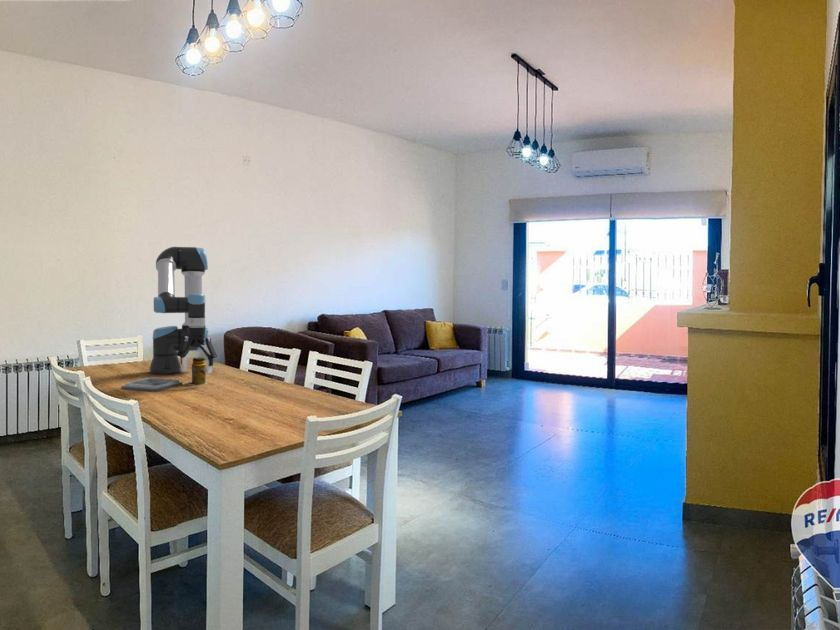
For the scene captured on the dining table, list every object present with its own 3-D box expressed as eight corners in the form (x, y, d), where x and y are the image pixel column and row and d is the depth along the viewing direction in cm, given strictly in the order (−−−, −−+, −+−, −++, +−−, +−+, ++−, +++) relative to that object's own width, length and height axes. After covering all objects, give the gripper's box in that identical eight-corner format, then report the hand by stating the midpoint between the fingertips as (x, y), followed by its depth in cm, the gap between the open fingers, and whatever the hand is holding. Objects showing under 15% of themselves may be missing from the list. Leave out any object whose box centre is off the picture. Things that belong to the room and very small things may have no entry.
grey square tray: (150, 381, 286) (150, 377, 286) (182, 384, 281) (182, 379, 281) (121, 388, 269) (121, 383, 269) (155, 391, 264) (154, 386, 264)
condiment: (209, 383, 285) (208, 358, 284) (191, 385, 279) (191, 359, 278) (202, 381, 290) (202, 356, 289) (184, 383, 284) (184, 358, 283)
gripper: (168, 326, 283) (168, 371, 284) (214, 328, 275) (214, 374, 277) (179, 325, 290) (179, 369, 291) (224, 327, 283) (224, 372, 284)
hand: (196, 372), depth 284 cm, fingers open, 13 cm apart
